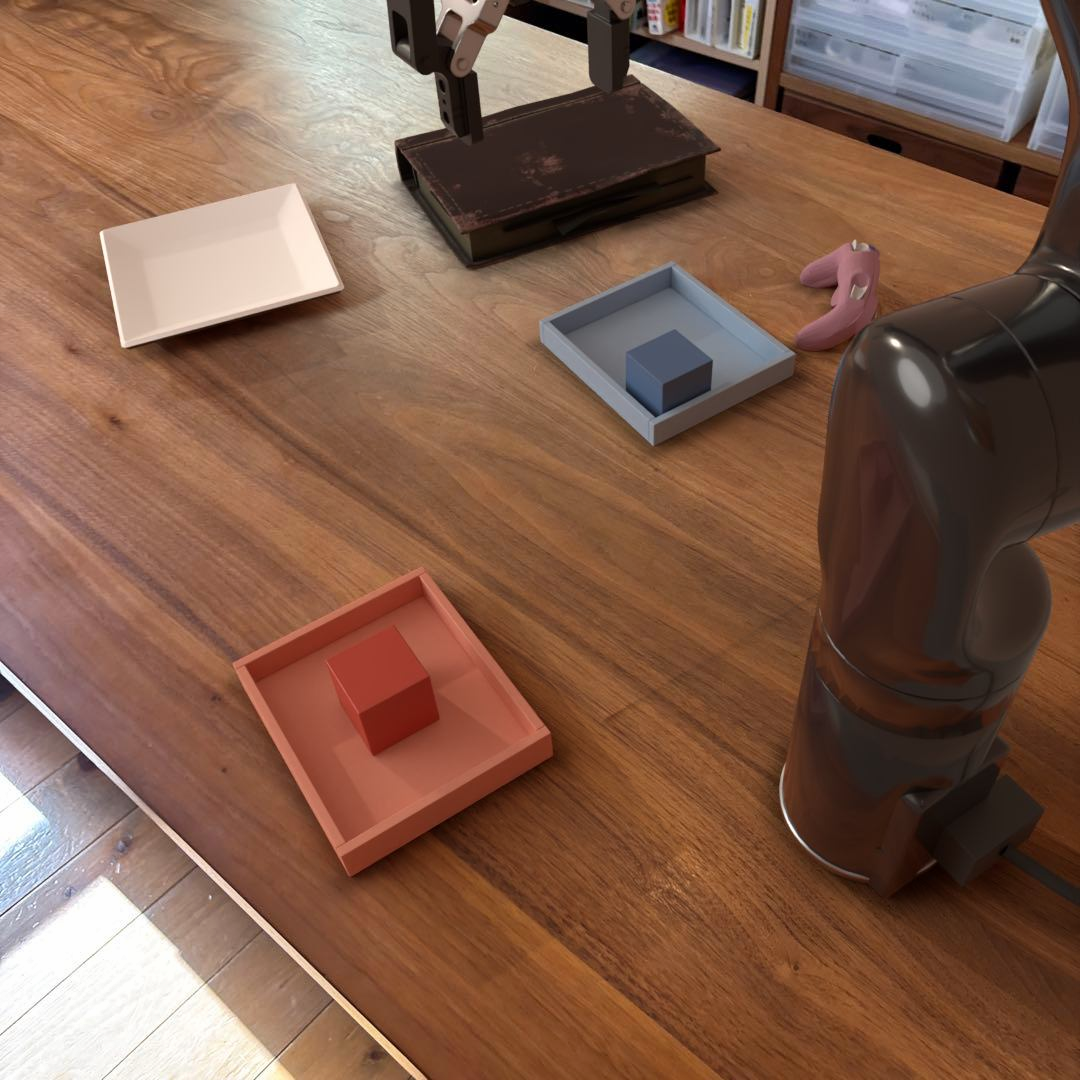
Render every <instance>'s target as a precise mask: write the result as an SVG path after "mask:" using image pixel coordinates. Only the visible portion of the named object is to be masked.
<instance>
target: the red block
mask: <svg viewBox="0 0 1080 1080" xmlns="http://www.w3.org/2000/svg"><path fill="white" fill-rule="evenodd" d="M325 662H326V665H327V667H328V670H329V673H330V676H331V679H332V681H333V684H334V687H335V690H336V693H337V695H338V698H339V701H340V704H341V705H342V707H343V709H344V710H345V712H346V713H347V715H348V717H349V718H350V720H351V722H352V723H353V725H354V726H355V728H356V730H357V731H358V733H359V735H360V736H361V738H362V739H363V741H364V743H365V744H366V746H367V748H368V749H369V751H370V752H371V754H372V755H373V756H374V755H376V754H378V753H380V752H381V751H383V750H385V749H387V748H389V747H390V746H392V745H394V744H396V743H397V742H399V741H401V740H403V739H405V738H406V737H408V736H410V735H412V734H414V733H415V732H417V731H419V730H421V729H423V728H424V727H426V726H428V725H430V724H432V723H433V722H435V721H437V720H439V719H440V717H439V713H438V709H437V705H436V700H435V696H434V692H433V688H432V684H431V680H430V676H429V674H428V673H427V671H426V670H425V668H424V667H423V666H422V664H421V663H420V661H419V660H418V658H417V657H416V656H415V654H414V653H413V651H412V650H411V648H410V647H409V646H408V644H407V643H406V641H405V640H404V638H403V637H402V635H401V634H400V633H399V631H398V630H397V628H396V627H395V626H394V625H392V626H390V627H388V628H386V629H384V630H382V631H380V632H378V633H376V634H374V635H373V636H371V637H369V638H367V639H365V640H363V641H361V642H359V643H357V644H355V645H353V646H351V647H349V648H347V649H346V650H344V651H342V652H340V653H338V654H336V655H334V656H332V657H330V658H328V659H326V660H325Z"/></svg>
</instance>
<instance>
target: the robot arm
mask: <svg viewBox="0 0 1080 1080" xmlns="http://www.w3.org/2000/svg"><path fill="white" fill-rule="evenodd" d="M531 1H532V0H477V1H476V2H474V0H440V4H441V10H440V13H439V15H438V18H437V20H436V9H435V7H436V6H435V0H386V8H387V10H386V11H387V17H388V28H389V36H390V46H391V51H392V53H393V54H394V56H396V57H397V58H398V59H400V60H401V61H403V62H404V63H405V64H407V65H408V66H409V67H411V68H412V69H413V70H415V71H416V72H417V73H418V74H420V75H422V76H429V75H432V74H434V82H435V89H436V95H437V103H438V111H439V117H440V121H441V122H442V124H443V126H444V128H447V129H448V130H449V131H451V132H452V133H453V134H454V135H456V136H457V137H458V138H459V139H461V140H462V141H463V142H464V143H466V144H467V145H468V146H472V145H475V144H477V143H480V142H483V140H484V133H483V124H482V117H483V116H482V107H481V98H480V88H479V80H478V78H479V77H478V73H477V71H475V70H474V69H473V68H474V66H475V63H476V61H477V59H478V56H479V54H480V52H481V49H482V47H483V45H484V43H485V40H486V39H487V37H488V36H489V35H490V34H491V35H492V34H493V33H495V32H496V31H497V29H498V27H499V26H500V23H501V21H502V18H503V16H504V14H505V13H506V10H507V8H508V5H511V6H512V7H514V8H516V7H518V6H521V5H524V4H526V3H529V2H531ZM589 1H590V2H591V3H592V4H593V9H590V10H587V11H586V25H587V26H586V27H587V28H586V30H587V31H586V32H587V59H588V60H587V61H588V63H587V64H588V77H589V80H590V82H591V84H592V85H593V86H596V87H598V88H600V89H601V90H603V91H604V92H606V93H607V94H611V93H614V92H617V91H619V90H621V89H622V88H623V77H626V76H627V75H628V72H629V69H630V64H631V63H630V62H631V60H630V59H631V58H630V43H631V41H630V40H631V39H630V37H631V35H630V33H631V32H630V26H631V25H630V22H631V21H630V18H631V16H632V15H633V14H634V13H635V10H636V7H637V5H638V4H639V3H640V2H641V1H642V0H589ZM1038 2H1039V6H1040V8H1041V11H1042V14H1043V17H1044V19H1045V23H1046V25H1047V28H1048V31H1049V33H1050V36H1051V39H1052V42H1053V44H1054V48H1055V51H1056V53H1057V56H1058V60H1059V63H1060V66H1061V70H1062V73H1063V77H1064V81H1065V86H1066V93H1067V94H1066V95H1067V100H1068V122H1067V131H1066V136H1065V144H1064V148H1063V152H1062V158H1061V162H1060V166H1059V170H1058V171H1059V172H1058V174H1057V179H1056V183H1055V186H1054V189H1053V193H1052V198H1051V199H1050V202H1049V205H1048V209H1047V212H1046V215H1045V218H1044V221H1043V224H1042V225H1041V228H1040V230H1039V233H1038V234H1037V235H1038V236H1037V238H1036V240H1035V242H1034V245H1033V246H1032V248H1031V250H1030V252H1029V254H1028V256H1027V257H1026V259H1024V262H1023V263H1022V264H1021V265H1020V266H1019V267H1018V268H1017V269H1016V270H1015V271H1014V272H1013V273H1012V274H1009V275H1006V276H1003V277H1000V278H997V279H996V278H995V279H993V280H989V281H987V282H983V283H980V284H977V285H974V286H971V287H970V286H969V287H967V288H964V289H960V290H957V291H954V292H951V293H947V294H944V295H940V296H938V297H934V298H931V299H928V300H925V301H922V302H918V303H915V304H912V305H908V306H905V307H902V308H899V309H896V310H893V311H890V312H887V313H883V314H882V315H880V316H878V317H876V319H874V320H872V321H870V322H869V323H867V324H866V325H865V326H863V327H862V328H861V329H860V330H859V331H858V332H857V334H856V335H853V336H852V339H851V340H850V342H849V343H848V345H847V346H846V348H845V350H844V352H843V354H842V356H841V358H840V361H839V364H838V367H837V370H836V372H835V376H834V380H833V385H832V388H831V389H832V390H831V394H830V402H829V409H828V415H827V426H826V436H825V447H824V457H823V468H822V477H821V483H820V484H821V486H820V494H819V502H818V509H817V510H818V511H817V522H816V523H817V526H816V533H817V549H818V558H819V559H818V560H819V566H820V567H819V568H820V574H821V575H820V576H821V583H820V588H819V593H818V598H817V603H816V607H815V613H814V618H813V623H812V628H811V633H810V637H809V642H808V648H807V651H806V657H805V660H804V661H805V662H804V667H803V671H802V677H801V682H800V686H799V691H798V697H797V702H796V707H795V710H794V711H795V712H794V717H793V722H792V726H791V732H790V737H789V741H788V748H787V752H786V753H787V754H786V758H785V763H784V765H783V767H782V771H781V775H780V779H779V783H778V784H779V785H778V807H779V811H780V814H781V817H782V820H783V823H784V826H785V828H786V829H787V831H788V833H789V835H790V836H791V838H792V839H793V841H794V842H795V843H796V845H797V846H798V848H800V850H801V851H802V852H803V853H804V854H805V855H806V856H807V857H809V859H811V860H812V861H813V862H814V863H816V864H817V865H819V866H820V867H822V868H823V869H825V870H826V871H828V872H829V873H832V874H834V875H836V876H839V877H841V878H844V879H846V880H849V881H852V882H856V883H862V884H866V885H868V886H869V887H870V888H871V889H872V890H874V892H875V893H876V894H877V895H878V896H879V897H881V898H882V899H888V898H890V897H892V896H893V895H894V894H896V893H898V891H900V890H901V889H902V888H904V887H905V886H907V885H908V884H909V883H911V882H912V881H913V880H915V879H916V878H918V877H920V876H922V875H924V874H925V873H927V872H929V871H930V870H931V869H932V868H934V867H935V866H936V865H940V866H941V867H942V868H943V869H944V870H945V872H946V873H947V874H948V875H949V876H951V878H952V879H953V880H954V881H955V882H956V883H957V884H958V885H959V886H960V887H961V888H965V887H966V886H967V885H969V884H970V883H972V882H973V881H974V880H976V879H977V878H978V877H979V876H981V875H982V874H983V873H985V872H986V871H988V870H989V869H990V868H991V867H993V866H994V865H995V864H997V863H998V862H999V861H1000V860H1002V859H1004V860H1005V861H1007V862H1008V863H1009V864H1011V865H1013V866H1014V867H1016V868H1017V869H1019V870H1021V871H1022V872H1024V873H1025V874H1026V875H1028V876H1029V877H1031V878H1033V879H1034V880H1036V881H1037V882H1039V883H1040V884H1041V885H1043V886H1044V887H1046V888H1048V889H1049V890H1051V891H1052V892H1054V893H1056V895H1058V896H1060V897H1062V898H1063V899H1065V900H1066V901H1068V902H1070V903H1072V904H1073V905H1075V906H1077V907H1079V908H1080V888H1079V887H1077V886H1076V885H1074V884H1072V883H1071V882H1070V881H1068V880H1066V879H1064V878H1063V877H1061V876H1059V875H1058V874H1056V872H1054V871H1052V870H1050V869H1049V868H1048V867H1046V866H1044V865H1043V864H1041V863H1040V862H1039V861H1037V860H1035V859H1034V858H1032V857H1031V856H1029V855H1028V854H1027V853H1025V852H1024V851H1022V850H1021V849H1020V848H1019V849H1018V847H1020V846H1021V845H1022V844H1023V843H1025V842H1026V841H1027V840H1029V838H1030V837H1031V835H1032V834H1033V832H1034V831H1035V829H1036V827H1037V825H1038V823H1039V822H1040V820H1041V818H1042V817H1043V814H1044V813H1045V811H1046V809H1045V808H1044V807H1043V805H1041V803H1039V802H1038V801H1037V800H1036V799H1034V798H1033V796H1031V795H1030V794H1029V793H1028V792H1027V791H1026V790H1025V789H1024V788H1023V787H1022V786H1020V785H1019V784H1018V783H1017V781H1015V779H1013V778H1012V777H1011V776H1009V774H1007V773H1005V774H1003V775H1002V776H1000V777H999V775H1000V773H1001V771H1002V769H1003V767H1004V765H1005V762H1006V760H1007V758H1008V757H1009V754H1010V752H1011V745H1010V744H1009V742H1007V741H1006V740H1005V739H1004V738H1003V737H1002V736H1001V735H999V733H1000V732H1001V728H1002V727H1003V725H1004V722H1005V720H1006V718H1007V715H1008V713H1009V711H1010V709H1011V707H1012V705H1013V703H1014V701H1015V698H1016V696H1017V695H1018V692H1019V690H1020V687H1021V685H1022V683H1023V681H1024V679H1025V676H1026V674H1027V672H1028V670H1029V668H1030V666H1031V664H1032V662H1033V660H1034V658H1035V656H1036V654H1037V652H1038V650H1039V648H1040V646H1041V643H1042V641H1043V640H1044V639H1043V638H1044V637H1045V634H1046V631H1047V630H1048V627H1049V624H1050V623H1049V622H1050V619H1051V616H1052V608H1053V593H1052V592H1053V591H1052V585H1051V582H1050V578H1049V574H1048V572H1047V570H1046V568H1045V566H1044V564H1043V562H1042V561H1041V558H1040V557H1039V555H1038V554H1037V553H1036V551H1035V550H1034V549H1033V547H1031V546H1030V544H1029V543H1028V542H1030V541H1032V540H1035V539H1037V538H1040V537H1043V536H1046V535H1048V534H1052V533H1054V532H1056V531H1059V530H1062V529H1065V528H1068V527H1071V526H1073V525H1076V524H1078V523H1080V0H1038ZM998 777H999V778H998Z"/></svg>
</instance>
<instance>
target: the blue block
mask: <svg viewBox="0 0 1080 1080" xmlns="http://www.w3.org/2000/svg"><path fill="white" fill-rule="evenodd" d="M712 368H713V359H711V358H710V357H709V356H708V355H706V354H705V353H704V352H703V351H701V350H700V349H699V348H698V347H697V346H695V345H694V344H693V343H692V342H690V341H689V340H688V339H687V338H685V337H684V336H683V335H682V334H681V333H679V332H678V331H677V330H676V329H674V330H672V331H670V332H667V333H665V334H663V335H661V336H659V337H657V338H655V339H653V340H650V341H648V342H646V343H644V344H642V345H640V346H638V347H636V348H634V349H631V350H629V351H627V352H626V392H628V393H629V394H630V395H631V396H632V397H633V398H634V399H635V400H636V401H638V402H639V403H640V404H641V405H642V406H643V407H644V408H645V409H646V410H648V411H649V412H650V413H651V414H652V415H653V416H654V417H655V418H656V417H658V416H660V415H662V414H664V413H666V412H668V411H670V410H672V409H674V408H676V407H678V406H680V405H682V404H684V403H686V402H688V401H690V400H692V399H694V398H696V397H698V396H700V395H702V394H704V393H706V392H708V391H710V390H711V382H712Z"/></svg>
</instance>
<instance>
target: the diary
mask: <svg viewBox="0 0 1080 1080" xmlns="http://www.w3.org/2000/svg"><path fill="white" fill-rule="evenodd" d="M482 124H483V133H484V140H483V142H480V143H477V144H475V145H472V146H468V145H467V144H466V143H464V142H463V141H462V140H461V139H459V138H458V137H457V136H456V135H454V134H453V133H452V132H451V131H449V130H448V129H447V128H446V127H443V128H440V129H435V130H431V131H427V132H423V133H418V134H414V135H410V136H406V137H402V138H398V139H394V142H393V143H394V145H393V146H394V151H395V153H394V154H395V160H396V164H397V170H398V175H399V179H400V182H401V184H402V185H403V186H404V188H405V189H406V190H407V192H408V193H409V195H410V196H411V198H412V199H413V201H414V202H415V203H416V205H417V206H418V207H419V208H420V210H421V212H422V213H423V215H425V217H426V218H427V220H428V221H429V222H430V224H431V225H432V226H433V229H435V231H436V232H437V234H438V235H439V236H440V238H441V239H442V240H443V242H444V243H445V245H446V246H447V247H448V248H449V250H450V251H451V252H452V253H453V255H454V256H455V257H456V259H457V260H458V261H459V262H460V264H461V265H462V267H465V268H467V269H479V268H482V267H487V266H490V265H494V264H497V263H500V262H501V263H502V262H504V261H507V260H510V259H515V258H518V257H521V256H525V255H527V254H531V253H533V252H534V253H535V252H538V251H540V250H543V249H546V248H550V247H552V246H556V245H558V244H562V243H565V242H568V241H570V240H572V239H575V238H579V237H581V236H584V235H586V234H590V233H593V232H597V231H601V230H606V229H609V228H613V227H616V226H620V225H624V224H628V223H629V222H632V221H636V220H639V219H641V218H643V216H645V215H648V214H652V213H655V212H662V211H665V210H670V209H674V208H677V207H680V206H683V205H686V204H690V203H693V202H697V201H700V200H703V199H706V198H709V197H712V196H715V195H718V194H719V191H718V190H716V188H714V186H712V185H711V184H710V183H709V182H708V181H707V180H706V161H707V156H709V155H712V154H716V153H719V152H721V151H722V148H721V147H720V146H719V145H718V144H716V143H715V142H714V141H713V140H712V139H711V138H710V137H709V136H708V135H707V134H705V132H704V131H702V130H701V129H700V128H699V127H698V126H697V125H696V124H694V123H693V122H692V121H691V120H689V118H688V117H686V116H685V115H684V114H683V113H682V112H680V110H678V109H677V108H676V107H675V106H674V105H672V104H671V103H669V102H668V101H667V100H666V99H664V97H662V96H661V95H659V94H658V93H656V92H655V90H653V89H651V88H650V87H649V86H648V85H646V84H644V82H641V81H640V79H638V78H637V77H636V76H635V75H634V74H633V73H631V74H627V76H626V77H623V88H622V89H621V90H619V91H617V92H614V93H611V94H607V93H606V92H604V91H603V90H601V89H600V88H598V87H596V86H595V85H592V86H589V87H586V88H583V89H579V90H576V91H572V92H569V93H566V94H562V95H561V94H560V95H558V96H553V97H550V98H545V99H541V100H537V101H533V102H529V103H525V104H521V105H517V106H513V107H510V108H506V109H503V110H501V111H497V112H493V113H491V114H488V115H484V116H482Z"/></svg>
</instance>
